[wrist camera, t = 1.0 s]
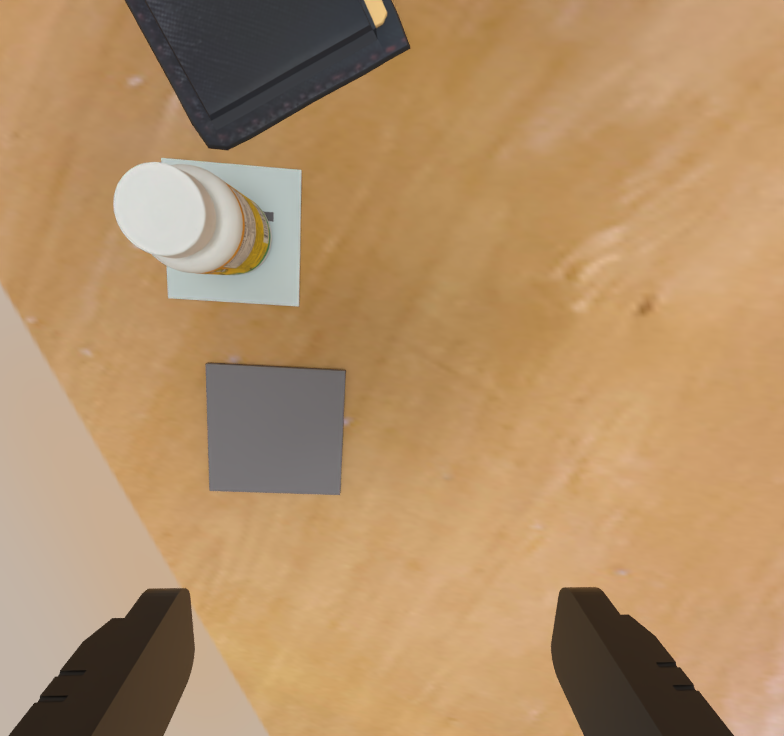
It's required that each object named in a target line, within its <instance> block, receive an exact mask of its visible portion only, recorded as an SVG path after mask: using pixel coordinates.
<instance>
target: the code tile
mask: <svg viewBox="0 0 784 736" xmlns="http://www.w3.org/2000/svg"><path fill="white" fill-rule="evenodd" d="M161 163H165V164H169V165H175V164H188V165H194V166H197V167H200V168H203V169H205V170H208V171H210V172H211V173H213V174H214V175H216V176H217V177H219V178H220V179H222V180H223V181H225V182H226V183H227V184H229V185H230V186H232V187H233V188H235V189H236V190H238V191H239V192H240V193H242V194H243V195H245V196H246V197H248V198H249V199H251V200H252V201H254V202H255V203H256V204H257V205H258V206H259V207H260V208H261V209H262V211H263V212H264V214H265V215H266V217H267V219H268V221H269V224H270V228H271V234H272V242H271V248H270V251H269V254H268V256H267V258H266V259H265V261H264V262H263V263H262V264H261V265H260V266H259V267H258V268H257V269H255V270H254V271H252V272H249V273H246V274H241V275H216V274H197V273H187V272H182V271H178V270H175V269H173V268H170V267H168V266H167V285H168V298H175V299H190V300H206V301H222V302H238V303H253V304H269V305H285V306H299V292H300V236H301V181H302V170H296V169H284V168H272V167H261V166H249V165H238V164H226V163H215V162H203V161H191V160H180V159H168V158H161Z"/></svg>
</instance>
